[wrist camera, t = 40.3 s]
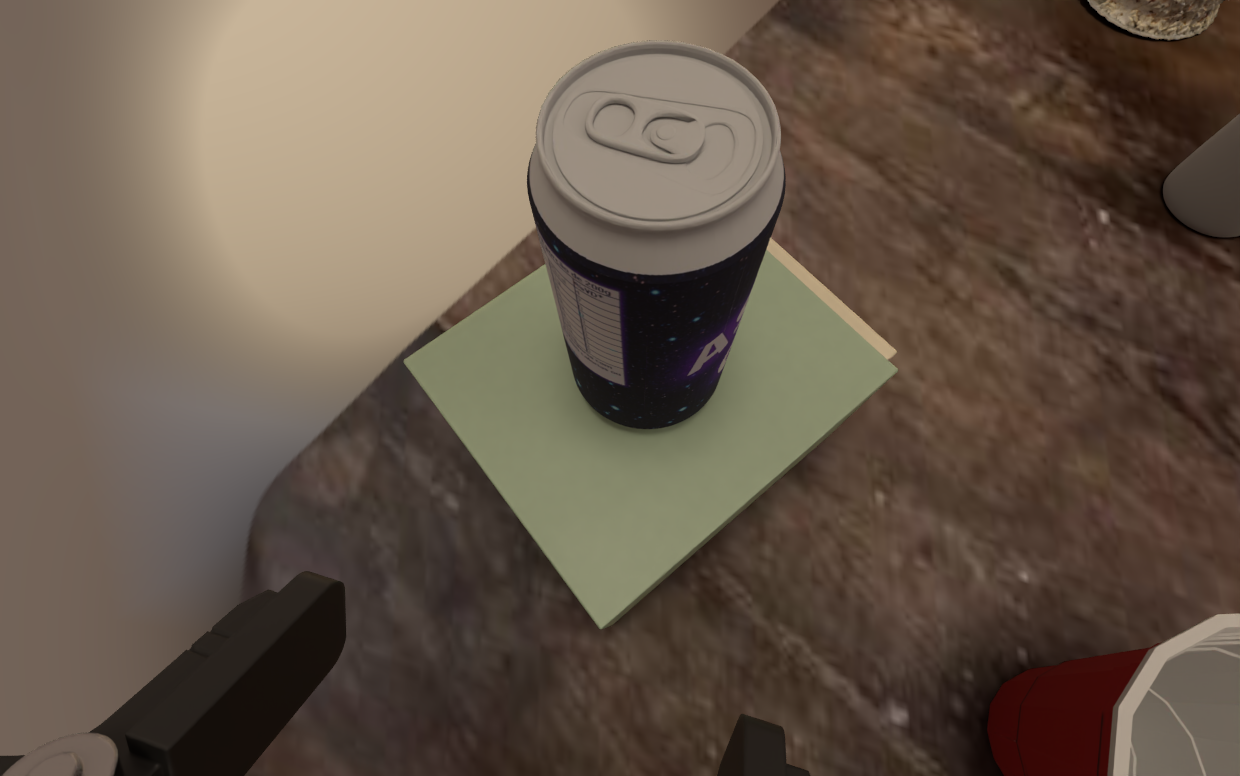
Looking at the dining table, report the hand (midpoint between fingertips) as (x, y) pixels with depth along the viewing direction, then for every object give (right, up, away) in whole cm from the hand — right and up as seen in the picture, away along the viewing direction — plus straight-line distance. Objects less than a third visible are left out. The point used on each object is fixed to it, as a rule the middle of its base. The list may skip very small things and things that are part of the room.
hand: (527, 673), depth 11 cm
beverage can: (+3, +6, +12) cm, 14 cm away
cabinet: (+3, +3, +20) cm, 21 cm away
